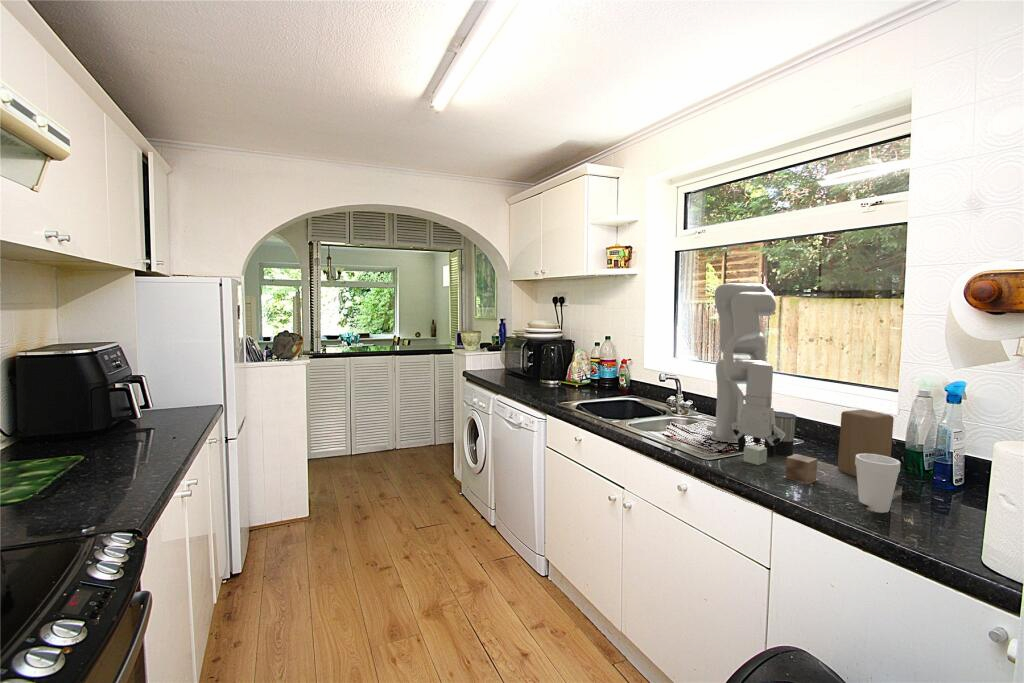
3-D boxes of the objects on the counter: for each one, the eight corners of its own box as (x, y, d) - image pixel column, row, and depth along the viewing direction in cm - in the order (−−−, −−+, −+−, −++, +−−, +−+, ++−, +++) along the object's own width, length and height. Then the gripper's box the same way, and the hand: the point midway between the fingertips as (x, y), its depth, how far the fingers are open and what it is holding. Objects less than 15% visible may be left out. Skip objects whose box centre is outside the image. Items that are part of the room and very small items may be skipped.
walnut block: (785, 477, 152) (786, 457, 152) (794, 473, 156) (796, 453, 155) (806, 482, 147) (808, 462, 147) (816, 478, 151) (817, 458, 151)
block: (857, 470, 164) (862, 408, 162) (890, 480, 154) (895, 415, 153) (835, 473, 160) (840, 410, 158) (867, 484, 151) (872, 417, 149)
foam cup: (898, 507, 134) (902, 459, 133) (894, 518, 127) (898, 467, 126) (855, 497, 140) (858, 451, 139) (849, 507, 133) (852, 458, 132)
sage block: (743, 464, 167) (744, 446, 167) (751, 462, 170) (752, 444, 170) (758, 469, 163) (759, 450, 163) (766, 466, 166) (767, 448, 166)
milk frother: (795, 455, 179) (798, 413, 178) (790, 466, 166) (793, 421, 165) (751, 448, 187) (753, 408, 186) (743, 458, 174) (745, 415, 173)
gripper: (726, 398, 170) (724, 449, 170) (780, 406, 156) (777, 461, 157) (739, 396, 174) (736, 446, 175) (791, 404, 160) (789, 458, 161)
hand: (756, 453), depth 166 cm, fingers open, 9 cm apart
